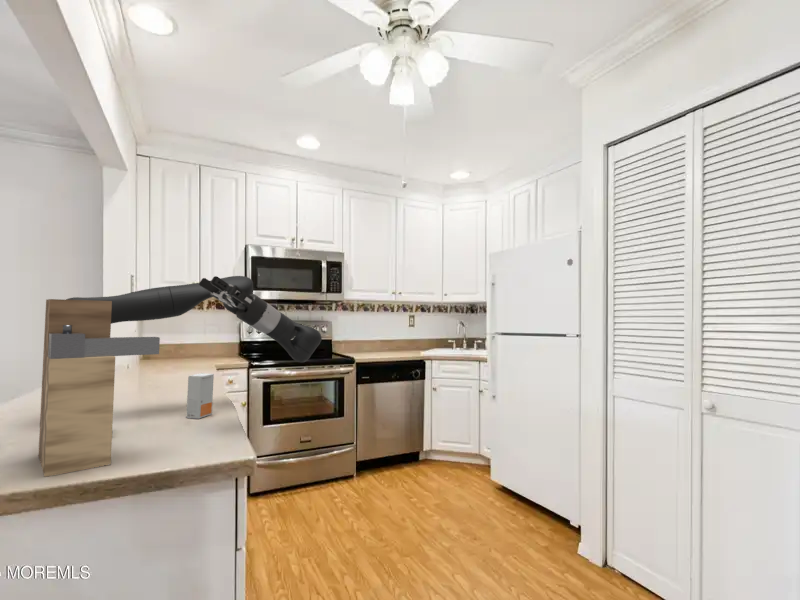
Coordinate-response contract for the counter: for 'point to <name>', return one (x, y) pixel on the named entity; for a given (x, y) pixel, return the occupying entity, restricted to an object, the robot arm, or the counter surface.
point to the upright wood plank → (76, 392)
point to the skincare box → (200, 395)
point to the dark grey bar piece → (98, 345)
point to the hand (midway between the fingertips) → (206, 280)
